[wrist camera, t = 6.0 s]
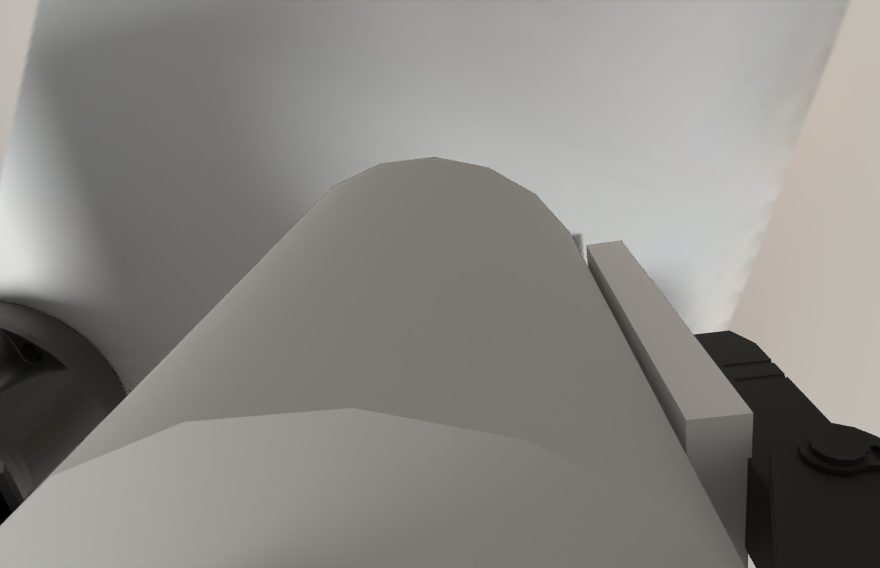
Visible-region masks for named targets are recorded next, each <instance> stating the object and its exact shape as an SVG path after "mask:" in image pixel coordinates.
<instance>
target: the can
mask: <svg viewBox="0 0 880 568" xmlns="http://www.w3.org/2000/svg"><path fill="white" fill-rule="evenodd" d="M0 568H745V566H744V564H743V562H742V560H741V558H740V557H739V555H738V553H737V551H736V549H735V547H734V545H733V543H732V541H731V539H730V537H729V535H728V534H727V532H726V530H725V528H724V526H723V524H722V522H721V520H720V518H719V516H718V514H717V513H716V511H715V509H714V507H713V505H712V503H711V501H710V499H709V497H708V495H707V493H706V492H705V490H704V488H703V486H702V484H701V482H700V480H699V478H698V476H697V474H696V472H695V470H694V469H693V467H692V465H691V463H690V461H689V459H688V457H687V455H686V453H685V451H684V449H683V448H682V446H681V444H680V442H679V440H678V438H677V436H676V434H675V432H674V430H673V428H672V427H671V425H670V423H669V421H668V419H667V417H666V415H665V413H664V411H663V409H662V407H661V405H660V404H659V402H658V400H657V398H656V396H655V394H654V392H653V390H652V388H651V386H650V384H649V383H648V381H647V379H646V377H645V375H644V373H643V371H642V369H641V367H640V365H639V363H638V362H637V360H636V358H635V356H634V354H633V352H632V350H631V348H630V346H629V344H628V342H627V340H626V339H625V337H624V335H623V333H622V331H621V329H620V327H619V325H618V323H617V321H616V319H615V318H614V316H613V314H612V312H611V310H610V308H609V306H608V304H607V302H606V300H605V298H604V297H603V295H602V293H601V291H600V289H599V287H598V285H597V283H596V281H595V279H594V277H593V275H592V274H591V272H590V270H589V268H588V266H587V264H586V262H585V260H584V258H583V256H582V254H581V253H580V251H579V249H578V247H577V245H576V243H575V241H574V239H573V237H572V235H571V233H570V232H569V231H568V230H567V229H566V228H565V226H564V225H563V224H562V223H561V222H560V221H559V220H558V219H557V217H556V216H555V215H554V214H553V213H552V212H551V211H550V210H549V209H548V207H547V206H546V205H545V204H544V203H543V202H542V201H541V200H540V198H539V197H538V196H537V195H536V194H534V193H533V192H531V191H529V190H527V189H526V188H524V187H522V186H520V185H518V184H517V183H515V182H513V181H511V180H510V179H508V178H506V177H504V176H502V175H501V174H499V173H497V172H495V171H494V170H492V169H490V168H487V167H482V166H477V165H472V164H467V163H462V162H457V161H452V160H447V159H442V158H437V157H431V158H423V159H415V160H407V161H398V162H390V163H382V164H379V165H377V166H375V167H373V168H370V169H368V170H366V171H364V172H362V173H360V174H358V175H356V176H354V177H352V178H350V179H347V180H345V181H343V182H341V183H339V184H337V185H335V186H333V187H332V188H331V189H330V190H329V191H328V192H327V193H326V194H325V195H324V196H323V197H322V198H321V199H320V200H319V201H318V202H317V203H316V204H315V205H314V206H313V207H312V208H311V209H310V210H309V211H308V212H307V213H306V214H305V215H304V216H303V217H302V218H301V219H300V220H299V221H298V222H297V223H296V224H295V225H294V226H293V227H292V228H291V229H290V230H289V231H288V232H287V233H286V234H285V235H284V236H283V237H282V238H281V239H280V240H279V241H278V242H277V243H276V244H275V245H274V246H273V247H272V248H271V250H270V251H269V252H268V253H267V254H266V255H265V256H264V257H263V258H262V259H261V260H260V261H259V262H258V263H257V264H256V265H255V266H254V267H253V268H252V269H251V270H250V271H249V272H248V273H247V274H246V275H245V276H244V277H243V278H242V279H241V280H240V281H239V282H238V283H237V284H236V285H235V286H234V287H233V288H232V289H231V290H230V291H229V292H228V293H227V294H226V295H225V297H224V298H223V299H222V300H221V301H220V302H219V303H218V304H217V305H216V306H215V307H214V308H213V309H212V310H211V311H210V312H209V313H208V314H207V315H206V316H205V317H204V318H203V319H202V320H201V321H200V322H199V323H198V324H197V325H196V326H195V327H194V328H193V329H192V330H191V331H190V332H189V333H188V334H187V335H186V336H185V337H184V338H183V339H182V340H181V341H180V342H179V344H178V345H177V346H176V347H175V348H174V349H173V350H172V351H171V352H170V353H169V354H168V355H167V356H166V357H165V358H164V359H163V360H162V361H161V362H160V363H159V364H158V365H157V366H156V367H155V368H154V369H153V370H152V371H151V372H150V373H149V374H148V375H147V376H146V377H145V378H144V379H143V380H142V381H141V382H140V383H139V384H138V385H137V386H136V387H135V388H134V389H133V391H132V392H131V393H130V394H129V395H128V396H127V397H126V398H125V399H124V400H123V401H122V402H121V403H120V404H119V405H118V406H117V407H116V408H115V409H114V410H113V411H112V412H111V413H110V414H109V415H108V416H107V417H106V418H105V419H104V420H103V421H102V422H101V423H100V424H99V425H98V426H97V427H96V428H95V429H94V430H93V431H92V432H91V433H90V434H89V435H88V436H87V438H86V439H85V440H84V441H83V442H82V443H81V444H80V445H79V446H78V447H77V448H76V449H75V450H74V451H73V452H72V453H71V454H70V455H69V456H68V457H67V458H66V459H65V460H64V461H63V462H62V463H61V464H60V465H59V466H58V467H57V468H56V469H55V470H54V471H53V472H52V473H51V474H50V475H49V476H48V477H47V478H46V479H45V480H44V481H43V482H42V483H41V485H40V486H39V487H38V488H37V489H36V490H35V491H34V492H33V493H32V494H31V495H30V496H29V497H28V498H27V499H26V500H25V501H24V502H23V503H22V504H21V505H20V506H19V507H18V508H17V509H16V510H15V511H14V512H13V513H12V514H11V515H10V516H9V517H8V518H7V519H6V520H5V521H4V522H3V523H2V524H1V525H0Z"/></svg>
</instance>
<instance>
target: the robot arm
mask: <svg viewBox="0 0 880 568" xmlns="http://www.w3.org/2000/svg"><path fill="white" fill-rule="evenodd" d="M586 247H587V260H588V268H589V270H590V272H591V274H592V275H593V277H594V279H595V281H596V283H597V285H598V287H599V289H600V291H601V293H602V295H603V297H604V298H605V300H606V302H607V304H608V306H609V308H610V310H611V312H612V314H613V316H614V318H615V319H616V321H617V323H618V325H619V327H620V329H621V331H622V333H623V335H624V337H625V339H626V340H627V342H628V344H629V346H630V348H631V350H632V352H633V354H634V356H635V358H636V360H637V362H638V363H639V365H640V367H641V369H642V371H643V373H644V375H645V377H646V379H647V381H648V383H649V384H650V386H651V388H652V390H653V392H654V394H655V396H656V398H657V400H658V402H659V404H660V405H661V407H662V409H663V411H664V413H665V415H666V417H667V419H668V421H669V423H670V425H671V427H672V428H673V430H674V432H675V434H676V436H677V438H678V440H679V442H680V444H681V446H682V448H683V449H684V451H685V453H686V455H687V457H688V459H689V461H690V463H691V465H692V467H693V469H694V470H695V472H696V474H697V476H698V478H699V480H700V482H701V484H702V486H703V488H704V490H705V492H706V493H707V495H708V497H709V499H710V501H711V503H712V505H713V507H714V509H715V511H716V513H717V514H718V516H719V518H720V520H721V522H722V524H723V526H724V528H725V530H726V532H727V534H728V535H729V537H730V539H731V541H732V543H733V545H734V547H735V549H736V551H737V553H738V555H739V557H740V558H741V560H742V562H743V564H744V566H745V568H748V554H749V555H750V558H751V559H752V561H753V563H754V565H755V567H756V568H880V438H879V437H877V436H875V435H872V434H870V433H867V432H865V431H862V430H859V429H857V428H855V427H850V426H845V425H840V424H834V423H831V422H830V421H829V420H828V419H827V418H826V417H825V416H824V415H823V414H822V413H821V412H820V411H819V410H818V409H817V408H816V406H815V405H814V404H813V403H812V402H811V401H810V400H809V399H808V398H807V397H806V396H805V395H804V394H803V393H802V392H801V391H800V390H799V389H798V388H797V387H796V386H795V384H794V383H793V382H792V381H791V380H790V379H789V378H788V377H786V378H785V376H784V373H783V372H782V371H781V370H780V369H779V367H778V366H777V365H776V364H775V363H771V359H770V358H769V357H768V356H767V355H766V354H765V353H764V352H763V351H762V350H761V349H760V348H759V346H758V345H757V344H756V343H754V342H752V341H750V340H748V339H746V338H743V337H742V336H740V335H737V334H736V333H733V332H731V331H721V332H713V333H704V334H696V335H693V334H692V332H691V331H690V330H689V328H688V327H687V326H686V324H685V323H684V322H683V320H682V319H681V318H680V317H679V315H678V314H677V313H676V311H675V310H674V309H673V307H672V306H671V305H670V303H669V302H668V301H667V300H666V298H665V297H664V296H663V294H662V293H661V292H660V290H659V289H658V288H657V286H656V285H655V284H654V282H653V281H652V280H651V279H650V277H649V276H648V275H647V273H646V272H645V271H644V269H643V268H642V267H641V265H640V264H639V263H638V262H637V260H636V259H635V258H634V256H633V255H632V254H631V252H630V251H629V250H628V248H627V247H626V246H625V245H624V243H623V242H622V241H614V242H607V243H600V244H592V245H586ZM125 398H126V396H125V394H124V391H123V389H122V386H121V384H120V382H119V380H118V378H117V376H116V375H115V373H114V372H113V370H112V369H111V367H110V366H109V364H108V363H107V362H106V360H105V359H104V358H103V357H102V356H101V354H100V353H99V352H98V351H97V350H96V349H95V348H94V347H93V346H92V345H91V344H90V343H89V342H88V341H86V340H85V339H84V338H83V337H82V336H80V335H79V334H78V333H77V332H75V331H74V330H72V329H71V328H69V327H68V326H66V325H65V324H63V323H61V322H60V321H58V320H56V319H54V318H52V317H50V316H48V315H46V314H44V313H41V312H39V311H36V310H34V309H31V308H27V307H24V306H20V305H16V304H11V303H5V302H0V525H1V524H2V523H3V522H4V521H5V520H6V519H7V518H8V517H9V516H10V515H11V514H12V513H13V512H14V511H15V510H16V509H17V508H18V507H19V506H20V505H21V504H22V503H23V502H24V501H25V500H26V499H27V498H28V497H29V496H30V495H31V494H32V493H33V492H34V491H35V490H36V489H37V488H38V487H39V486H40V485H41V483H42V482H43V481H44V480H45V479H46V478H47V477H48V476H49V475H50V474H51V473H52V472H53V471H54V470H55V469H56V468H57V467H58V466H59V465H60V464H61V463H62V462H63V461H64V460H65V459H66V458H67V457H68V456H69V455H70V454H71V453H72V452H73V451H74V450H75V449H76V448H77V447H78V446H79V445H80V444H81V443H82V442H83V441H84V440H85V439H86V438H87V436H88V435H89V434H90V433H91V432H92V431H93V430H94V429H95V428H96V427H97V426H98V425H99V424H100V423H101V422H102V421H103V420H104V419H105V418H106V417H107V416H108V415H109V414H110V413H111V412H112V411H113V410H114V409H115V408H116V407H117V406H118V405H119V404H120V403H121V402H122V401H123V400H124V399H125Z"/></svg>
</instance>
